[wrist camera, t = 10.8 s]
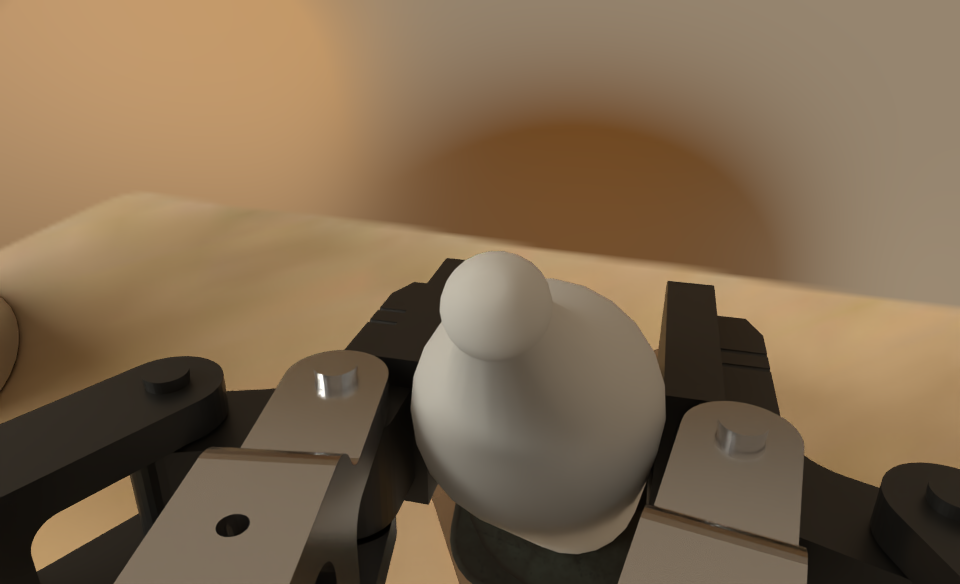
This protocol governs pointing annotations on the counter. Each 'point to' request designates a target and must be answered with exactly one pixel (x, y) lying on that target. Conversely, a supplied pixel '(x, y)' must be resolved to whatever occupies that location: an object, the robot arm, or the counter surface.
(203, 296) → the counter surface
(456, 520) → the bottle
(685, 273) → the counter surface
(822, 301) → the counter surface
